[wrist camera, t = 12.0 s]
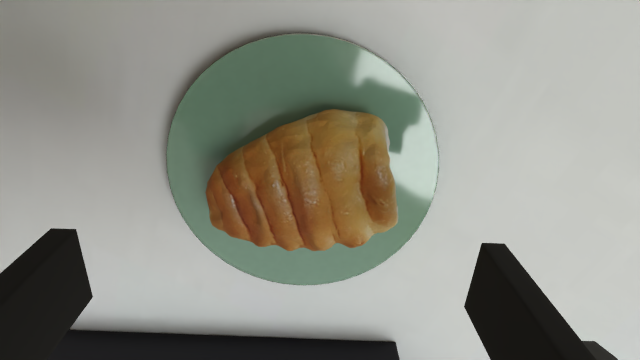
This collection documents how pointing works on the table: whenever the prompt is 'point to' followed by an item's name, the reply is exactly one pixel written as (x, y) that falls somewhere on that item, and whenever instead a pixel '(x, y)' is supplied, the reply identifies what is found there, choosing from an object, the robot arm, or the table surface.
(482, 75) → the table surface
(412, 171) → the plate
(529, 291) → the robot arm
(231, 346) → the pan
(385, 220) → the pastry
